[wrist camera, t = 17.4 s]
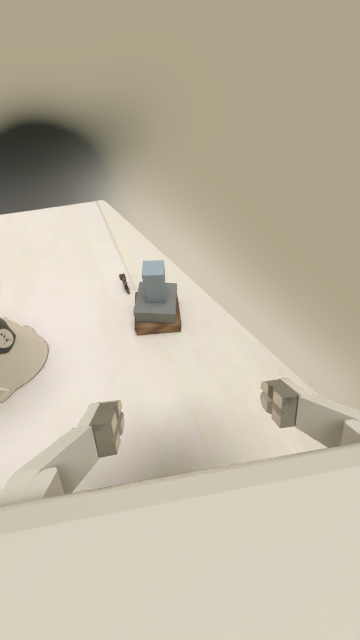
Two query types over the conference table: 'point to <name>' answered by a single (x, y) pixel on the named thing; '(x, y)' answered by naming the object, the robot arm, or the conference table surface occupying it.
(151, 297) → the slate blue block
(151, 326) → the walnut base block
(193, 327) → the conference table surface
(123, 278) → the wooden post with brackets
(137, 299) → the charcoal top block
